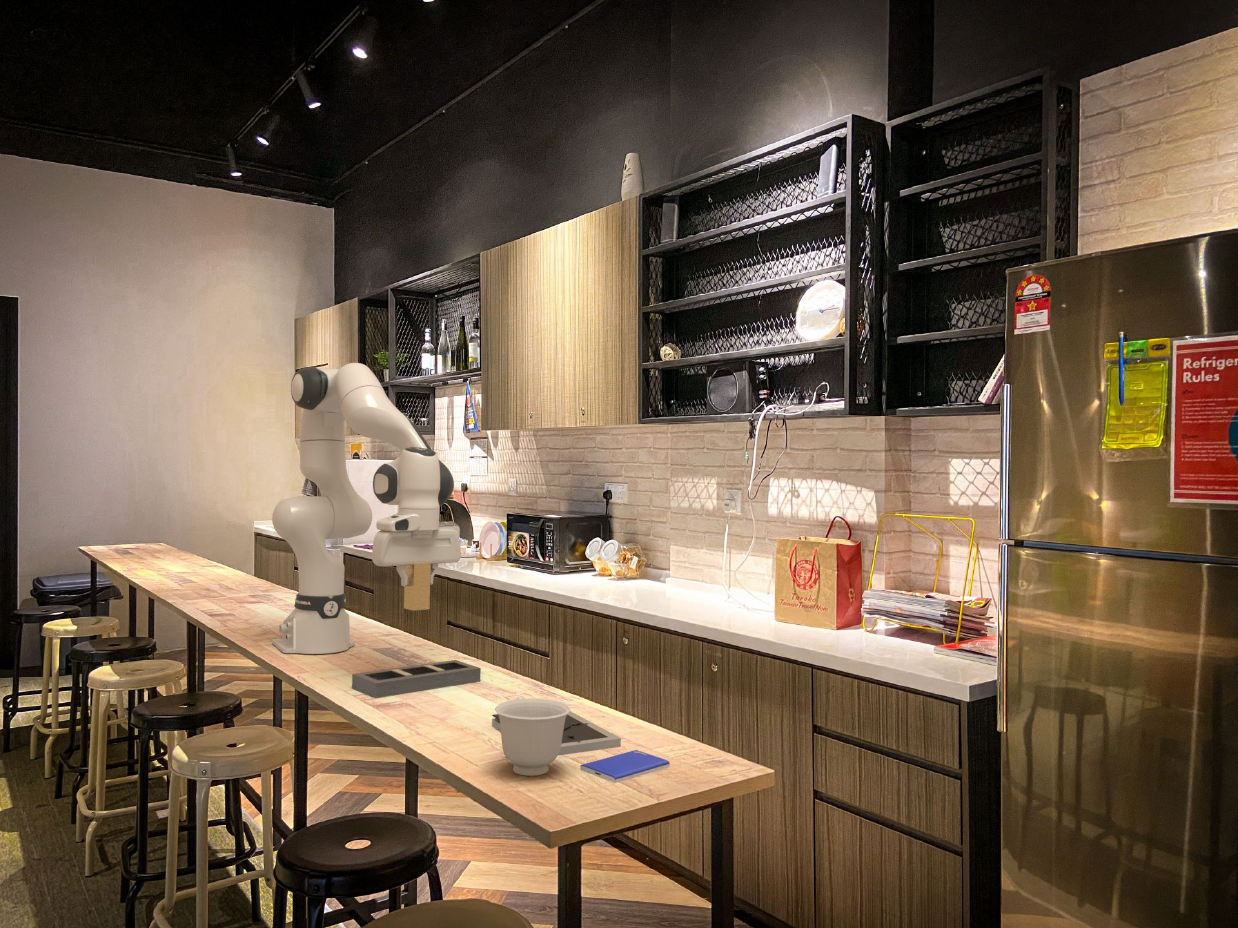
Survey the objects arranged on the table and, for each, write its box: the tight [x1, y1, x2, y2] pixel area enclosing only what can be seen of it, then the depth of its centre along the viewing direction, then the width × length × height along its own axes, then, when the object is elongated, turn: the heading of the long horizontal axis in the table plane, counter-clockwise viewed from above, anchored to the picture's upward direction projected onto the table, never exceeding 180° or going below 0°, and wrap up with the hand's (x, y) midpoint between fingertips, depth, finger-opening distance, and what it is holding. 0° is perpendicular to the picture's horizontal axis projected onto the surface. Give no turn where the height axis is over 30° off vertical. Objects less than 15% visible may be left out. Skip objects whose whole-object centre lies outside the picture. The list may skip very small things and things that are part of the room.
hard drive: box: [579, 749, 670, 784], centre depth 152 cm, size 2×8×12 cm
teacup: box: [494, 696, 571, 777], centre depth 150 cm, size 12×15×10 cm
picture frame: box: [491, 710, 622, 756], centre depth 168 cm, size 16×3×21 cm
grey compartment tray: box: [351, 659, 482, 699], centre depth 204 cm, size 10×26×3 cm, turn 132°
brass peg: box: [403, 563, 431, 611], centre depth 203 cm, size 4×4×10 cm
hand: (417, 585), depth 203 cm, fingers closed on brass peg, 4 cm apart
